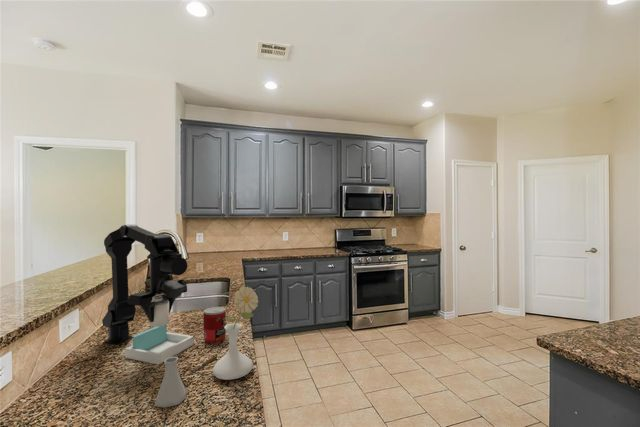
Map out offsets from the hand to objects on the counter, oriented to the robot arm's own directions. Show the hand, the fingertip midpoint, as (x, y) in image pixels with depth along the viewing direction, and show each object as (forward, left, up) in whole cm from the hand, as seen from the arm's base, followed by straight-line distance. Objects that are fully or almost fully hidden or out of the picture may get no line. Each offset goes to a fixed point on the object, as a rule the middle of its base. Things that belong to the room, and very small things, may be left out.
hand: (159, 318), depth 98 cm
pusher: (-6, +2, -11) cm, 13 cm away
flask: (+24, -18, -12) cm, 32 cm away
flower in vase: (+32, -2, -12) cm, 34 cm away
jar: (0, 0, -2) cm, 2 cm away
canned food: (+10, +16, -12) cm, 22 cm away
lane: (-3, +2, -12) cm, 12 cm away
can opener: (+19, -1, -12) cm, 23 cm away
